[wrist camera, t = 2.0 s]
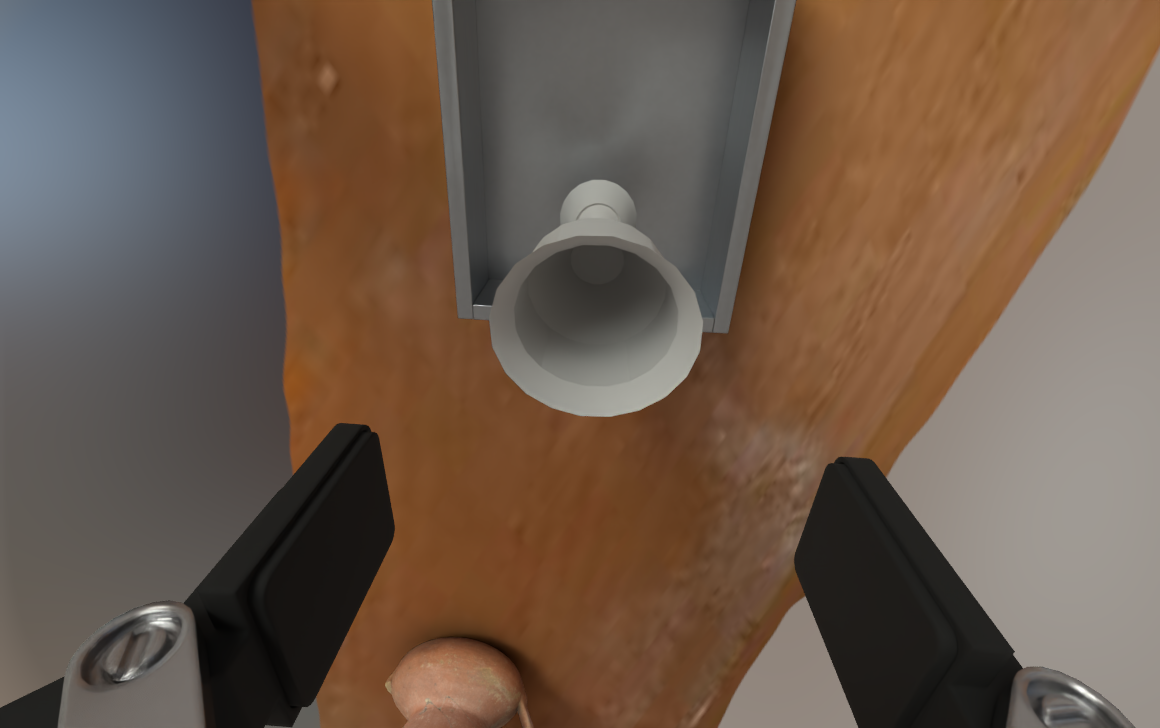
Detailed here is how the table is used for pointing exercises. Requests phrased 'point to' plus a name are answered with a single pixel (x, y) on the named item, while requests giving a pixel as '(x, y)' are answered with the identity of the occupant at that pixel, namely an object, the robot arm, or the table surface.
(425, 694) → the ceramic jug
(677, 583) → the table surface
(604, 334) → the chalice
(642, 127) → the grey rectangular tray
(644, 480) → the table surface
